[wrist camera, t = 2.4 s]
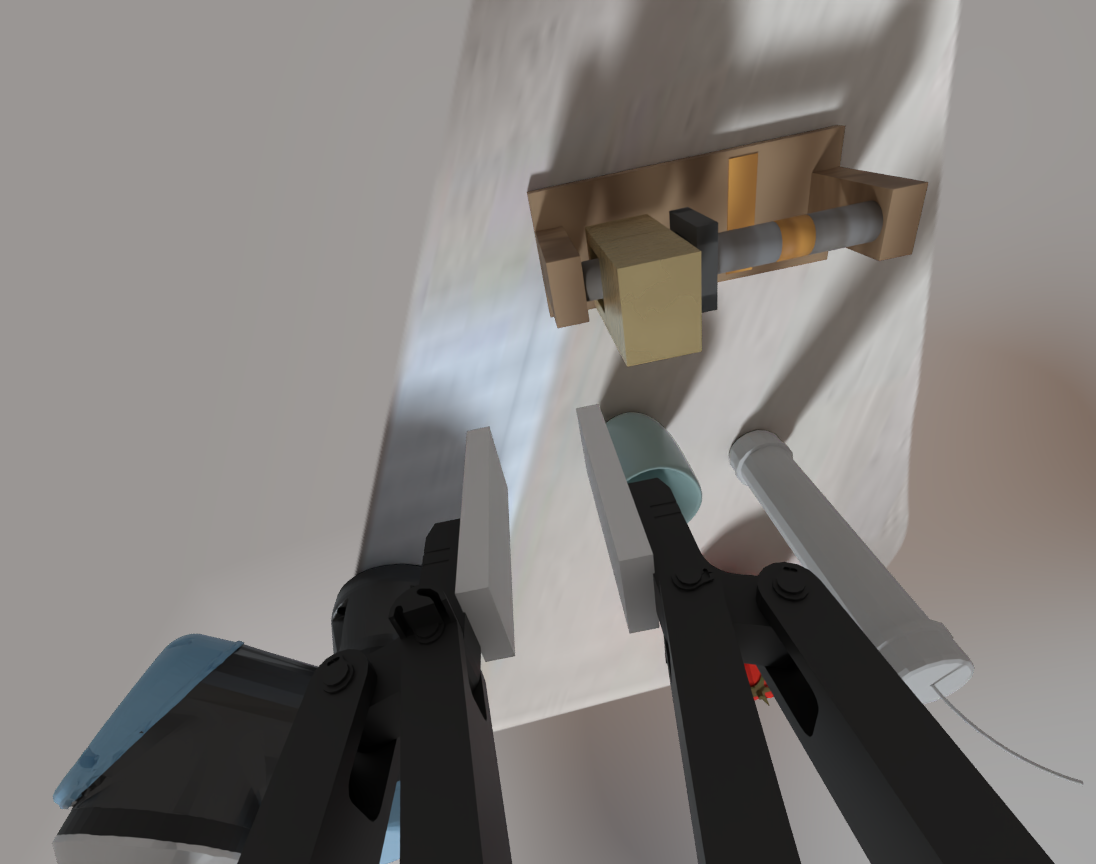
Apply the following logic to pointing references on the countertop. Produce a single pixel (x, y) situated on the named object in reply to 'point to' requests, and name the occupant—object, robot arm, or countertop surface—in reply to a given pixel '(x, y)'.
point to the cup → (654, 458)
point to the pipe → (855, 575)
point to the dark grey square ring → (700, 248)
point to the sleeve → (647, 288)
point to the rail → (731, 212)
